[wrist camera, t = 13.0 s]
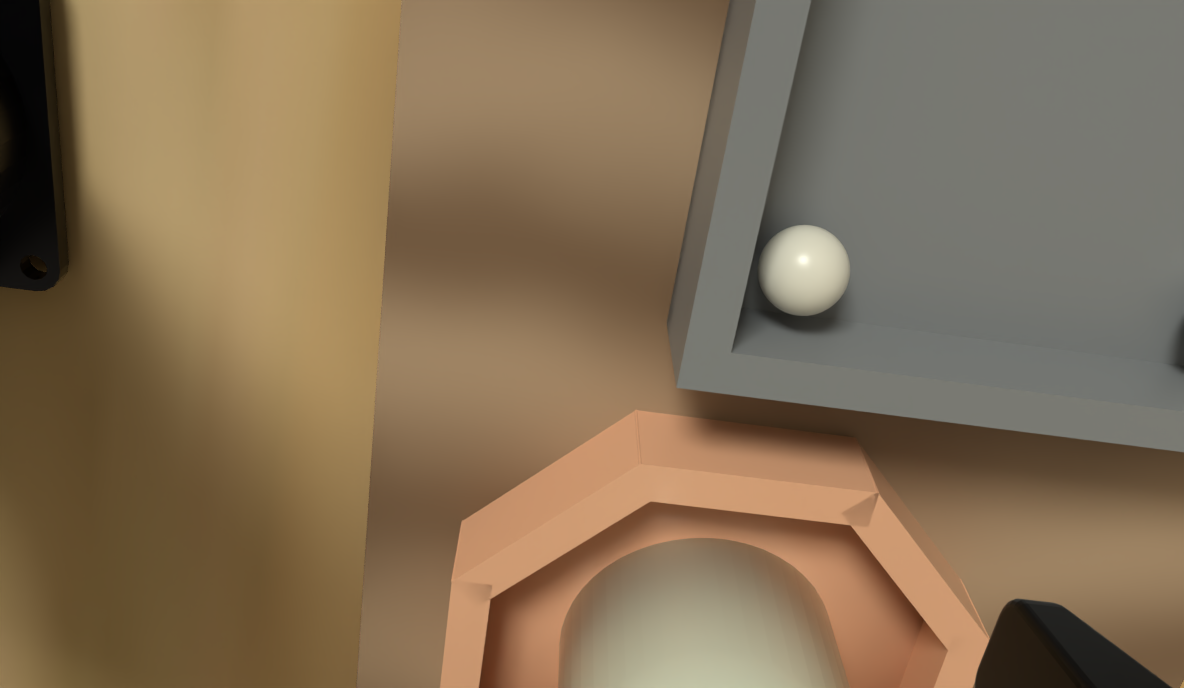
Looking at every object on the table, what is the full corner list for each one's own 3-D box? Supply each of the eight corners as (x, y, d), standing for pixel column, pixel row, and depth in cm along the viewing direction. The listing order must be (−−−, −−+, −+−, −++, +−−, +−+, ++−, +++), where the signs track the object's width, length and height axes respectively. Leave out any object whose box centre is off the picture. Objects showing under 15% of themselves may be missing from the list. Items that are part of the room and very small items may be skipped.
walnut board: (456, -681, 15) (448, -711, 14) (1700, -442, 17) (1763, -455, 16) (355, 782, 28) (347, 814, 27) (1063, 853, 29) (1078, 886, 28)
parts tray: (809, -413, 16) (849, -451, 14) (1574, -276, 17) (1734, -289, 14) (666, 323, 21) (676, 387, 19) (1251, 399, 22) (1330, 470, 20)
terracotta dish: (476, 389, 22) (466, 441, 20) (1006, 456, 23) (1043, 512, 21) (432, 780, 27) (421, 850, 25) (870, 824, 27) (889, 895, 26)
